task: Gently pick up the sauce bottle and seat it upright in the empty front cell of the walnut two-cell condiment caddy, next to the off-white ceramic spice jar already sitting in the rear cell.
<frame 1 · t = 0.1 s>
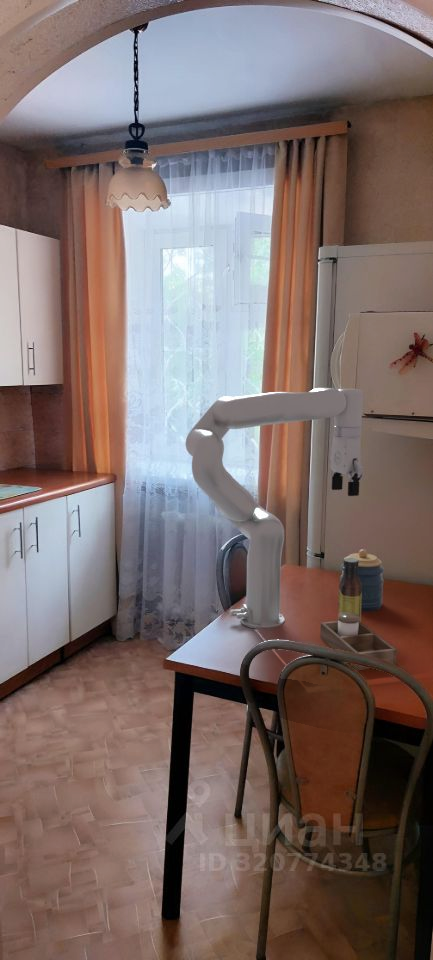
hand: (344, 492, 189), 37 cm above the table, tool pointing down, fingers open, 9 cm apart
spice jar: (347, 642, 172), point 1 cm above the table, touching caddy
caddy: (356, 653, 168), on the table
sauce bottle: (348, 628, 185), on the table
canister: (360, 605, 203), on the table
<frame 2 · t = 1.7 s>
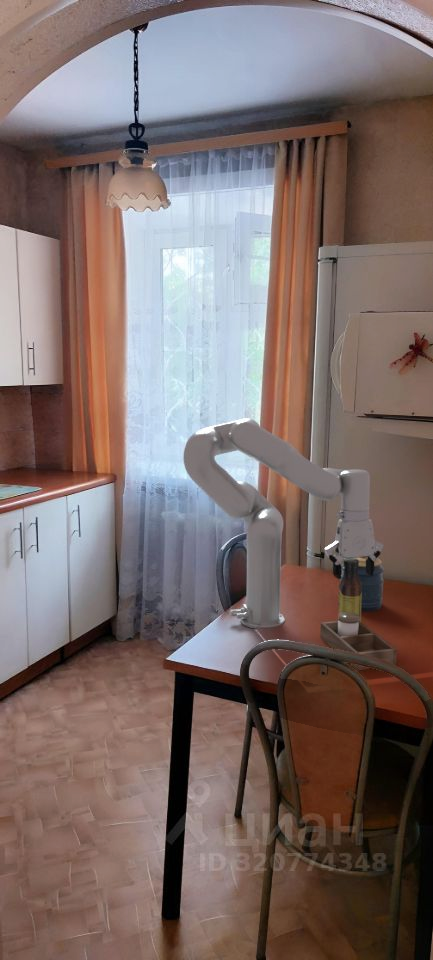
hand: (353, 575, 182), 15 cm above the table, tool pointing down, fingers open, 9 cm apart
nothing on the table moved.
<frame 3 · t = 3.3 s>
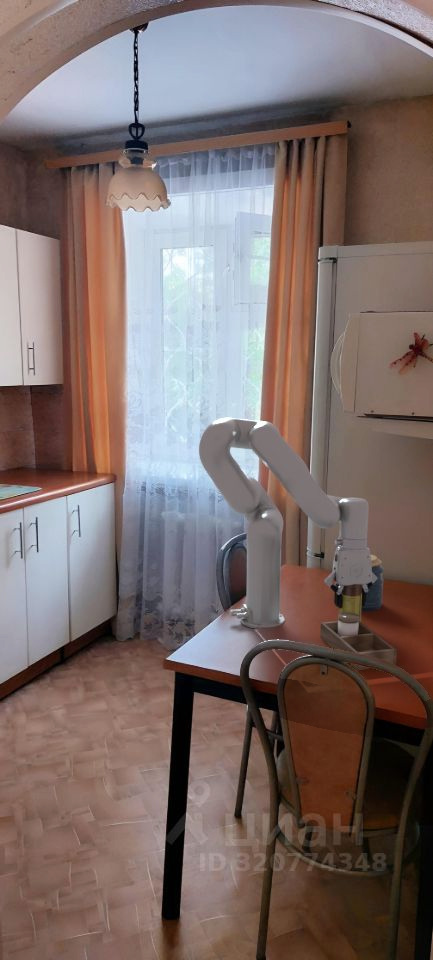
hand: (349, 605, 184), 7 cm above the table, tool pointing down, fingers closed on sauce bottle, 6 cm apart
sauce bottle: (348, 628, 185), on the table, touching gripper
everything else where it was.
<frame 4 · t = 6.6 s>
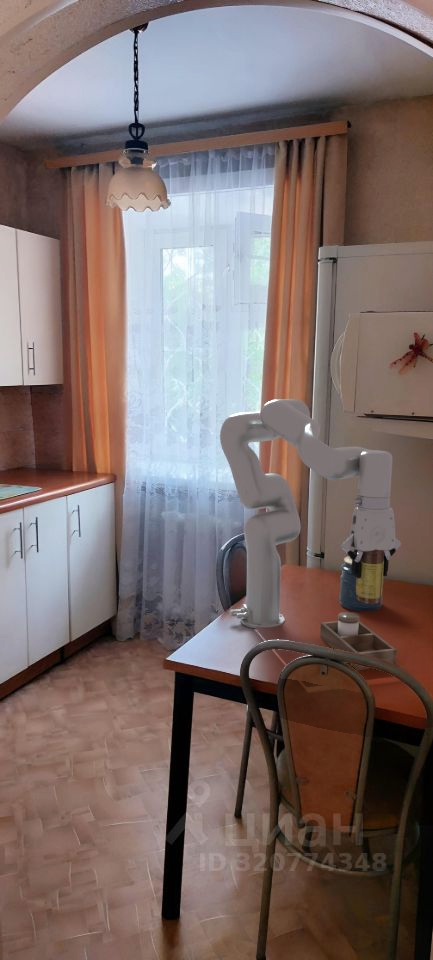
hand: (369, 574, 160), 22 cm above the table, tool pointing down, fingers closed on sauce bottle, 6 cm apart
sauce bottle: (368, 601, 161), point 15 cm above the table, touching gripper
everything else where it was.
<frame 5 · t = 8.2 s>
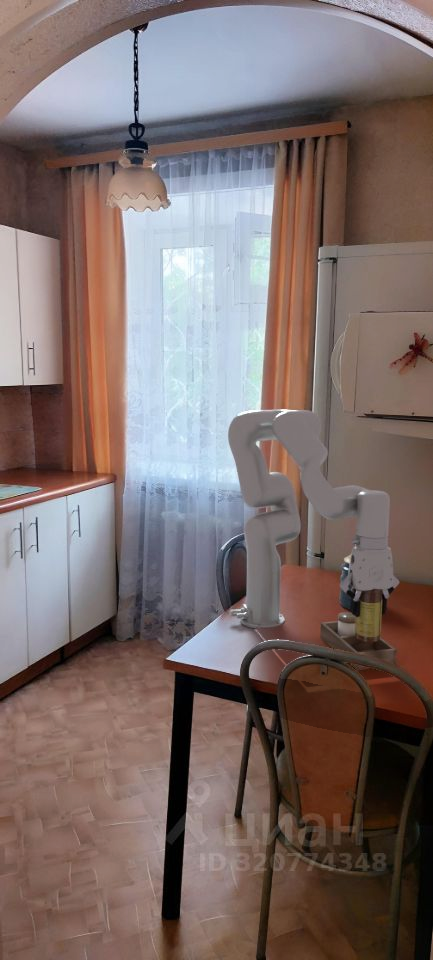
hand: (368, 613, 161), 13 cm above the table, tool pointing down, fingers closed on sauce bottle, 6 cm apart
sauce bottle: (367, 639, 162), point 6 cm above the table, touching gripper
everything else where it was.
when the fingers open (9 cm above the table, at t = 9.8 s): sauce bottle drops 2 cm, resting on caddy.
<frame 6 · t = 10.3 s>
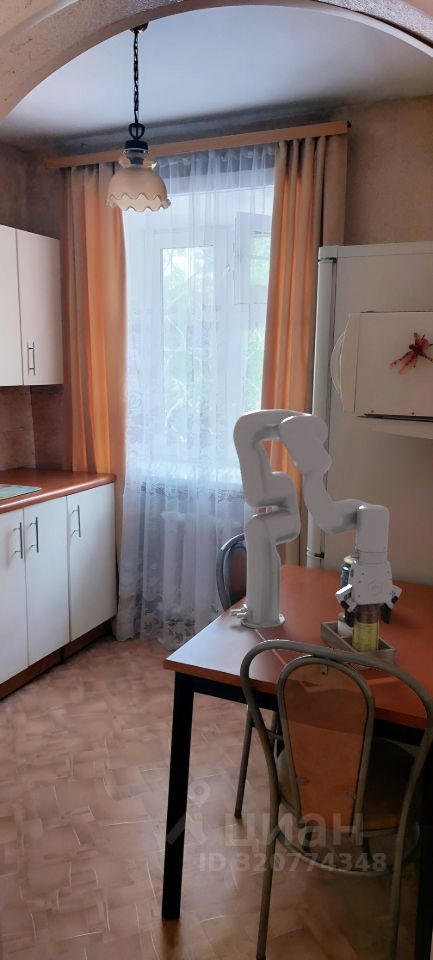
hand: (367, 623, 162), 10 cm above the table, tool pointing down, fingers open, 9 cm apart
sauce bottle: (364, 658, 163), point 1 cm above the table, touching caddy
everything else where it was.
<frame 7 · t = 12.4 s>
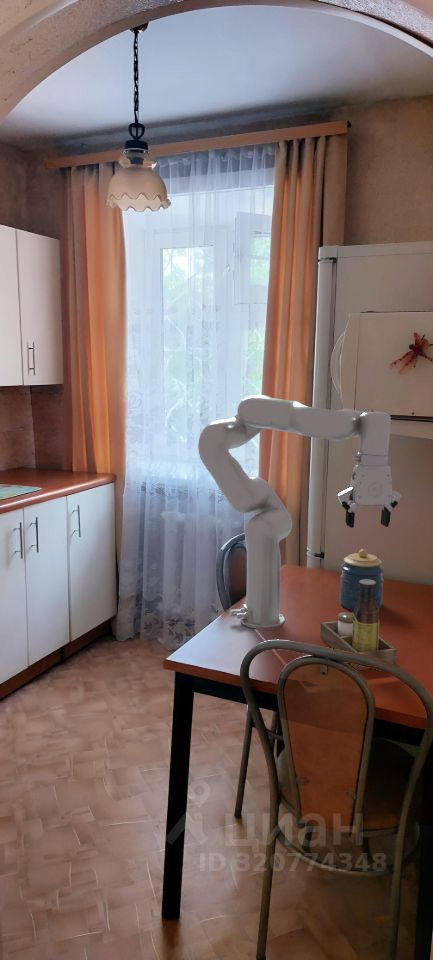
hand: (367, 526, 171), 31 cm above the table, tool pointing down, fingers open, 9 cm apart
nothing on the table moved.
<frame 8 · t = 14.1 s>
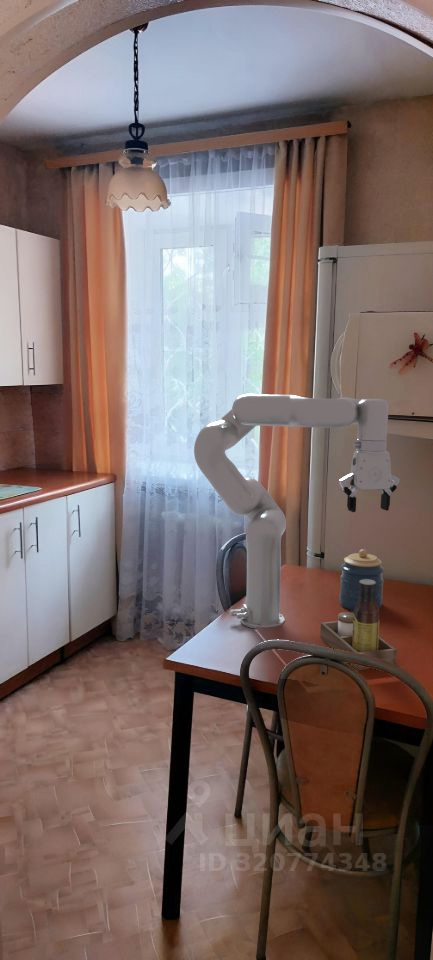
hand: (368, 510, 176), 34 cm above the table, tool pointing down, fingers open, 9 cm apart
nothing on the table moved.
at the end: sauce bottle inside the target area on the caddy (0.3 cm from its centre), point 0.6 cm above the caddy's base; sauce bottle tilted 0°; the gripper is holding nothing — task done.
